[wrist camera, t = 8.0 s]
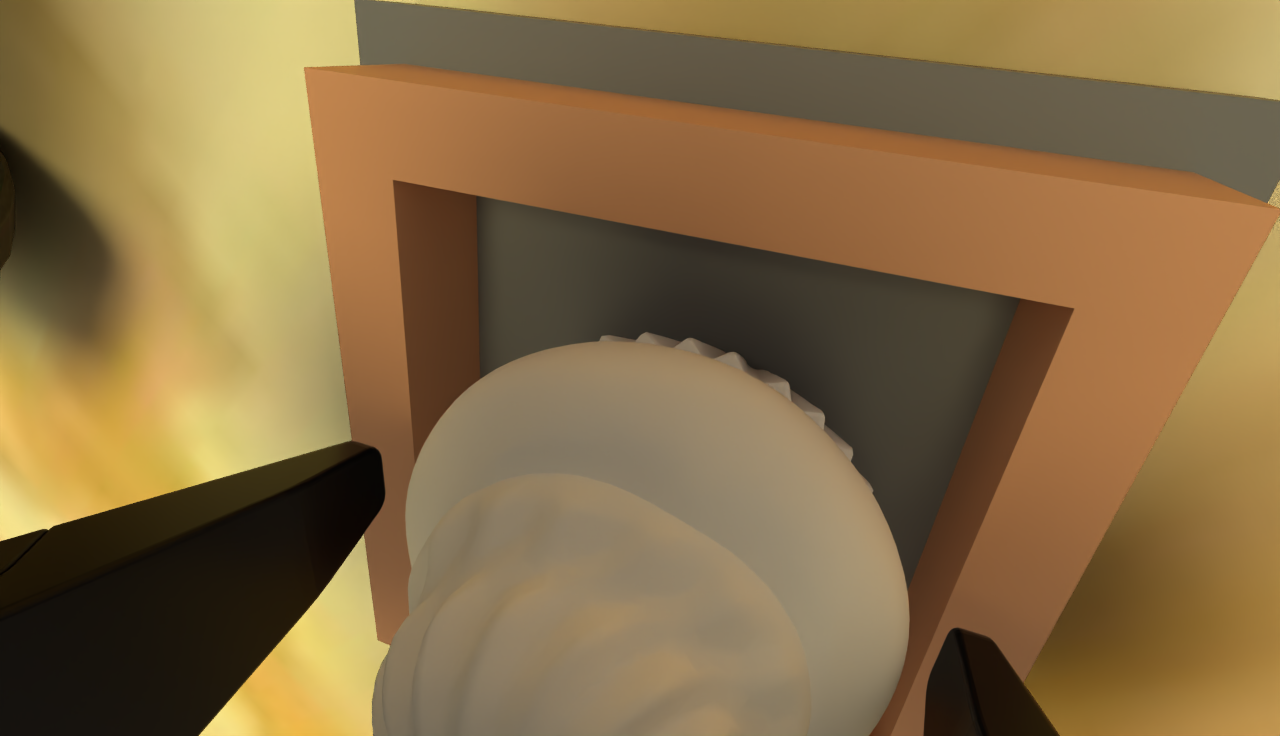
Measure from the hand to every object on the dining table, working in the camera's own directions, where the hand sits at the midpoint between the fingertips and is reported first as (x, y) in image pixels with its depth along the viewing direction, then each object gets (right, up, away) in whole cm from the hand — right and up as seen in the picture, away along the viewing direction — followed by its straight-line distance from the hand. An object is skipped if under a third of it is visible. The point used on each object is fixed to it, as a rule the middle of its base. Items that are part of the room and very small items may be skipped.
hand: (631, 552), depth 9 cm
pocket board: (+1, +2, +4) cm, 4 cm away
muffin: (+1, +1, +3) cm, 3 cm away
